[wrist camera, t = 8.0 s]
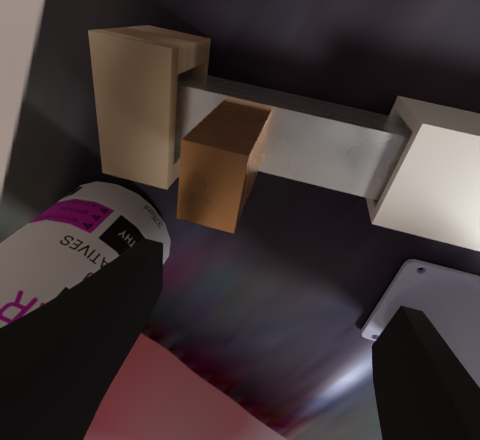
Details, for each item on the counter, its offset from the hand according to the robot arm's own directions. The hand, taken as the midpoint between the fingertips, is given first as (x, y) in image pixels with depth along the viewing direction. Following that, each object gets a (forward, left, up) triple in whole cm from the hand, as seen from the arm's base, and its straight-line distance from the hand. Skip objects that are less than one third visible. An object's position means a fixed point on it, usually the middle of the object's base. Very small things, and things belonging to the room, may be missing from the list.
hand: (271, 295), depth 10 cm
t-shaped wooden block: (+1, -2, -10) cm, 11 cm away
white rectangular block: (-7, -2, -10) cm, 13 cm away
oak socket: (+7, -2, -10) cm, 13 cm away
